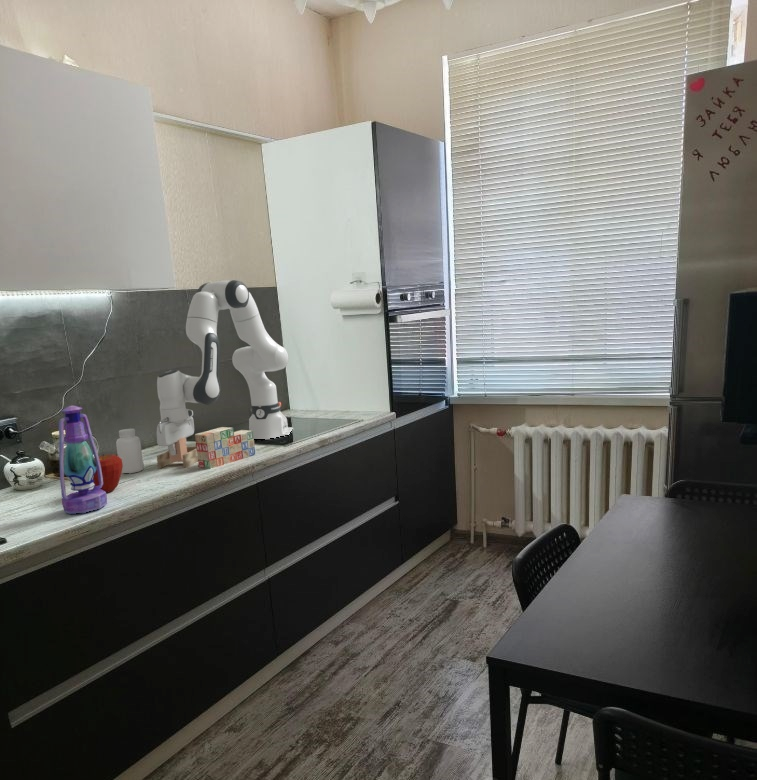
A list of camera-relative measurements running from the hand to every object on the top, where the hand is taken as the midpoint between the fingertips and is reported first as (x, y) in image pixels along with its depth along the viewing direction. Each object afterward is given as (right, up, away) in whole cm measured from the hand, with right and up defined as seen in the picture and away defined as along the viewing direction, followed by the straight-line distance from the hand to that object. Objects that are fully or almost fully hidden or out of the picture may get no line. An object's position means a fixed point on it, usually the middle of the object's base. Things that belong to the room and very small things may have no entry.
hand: (178, 452), depth 221 cm
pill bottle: (-15, -6, -5) cm, 17 cm away
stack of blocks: (+18, -3, 0) cm, 18 cm away
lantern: (-11, -11, -47) cm, 49 cm away
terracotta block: (0, -3, 0) cm, 3 cm away
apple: (-13, -9, -29) cm, 33 cm away
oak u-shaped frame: (+1, -4, +2) cm, 5 cm away
